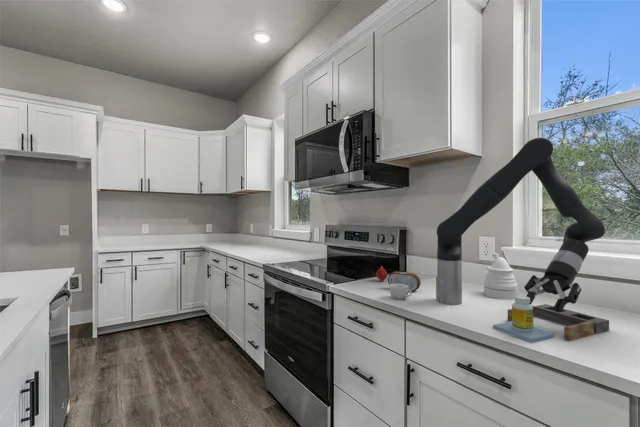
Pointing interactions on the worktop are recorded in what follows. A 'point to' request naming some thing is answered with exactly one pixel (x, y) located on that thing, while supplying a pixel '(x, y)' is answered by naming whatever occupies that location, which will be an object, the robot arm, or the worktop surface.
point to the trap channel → (570, 321)
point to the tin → (405, 280)
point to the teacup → (399, 291)
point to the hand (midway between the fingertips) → (541, 306)
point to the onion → (381, 274)
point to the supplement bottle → (522, 314)
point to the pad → (528, 336)
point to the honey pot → (500, 280)
